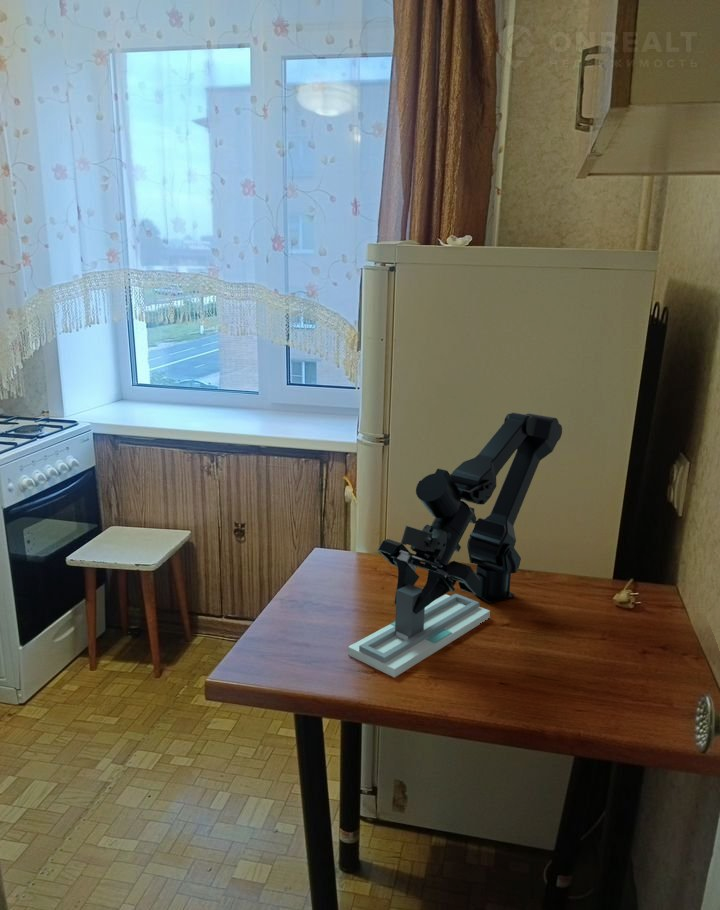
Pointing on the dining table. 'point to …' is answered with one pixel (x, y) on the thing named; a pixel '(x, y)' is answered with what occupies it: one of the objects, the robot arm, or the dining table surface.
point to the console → (420, 635)
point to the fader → (408, 612)
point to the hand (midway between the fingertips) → (405, 608)
